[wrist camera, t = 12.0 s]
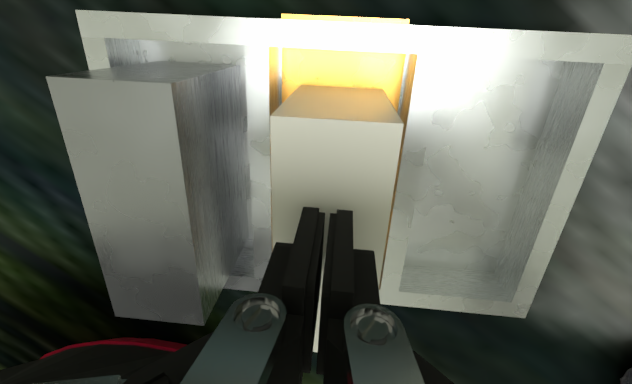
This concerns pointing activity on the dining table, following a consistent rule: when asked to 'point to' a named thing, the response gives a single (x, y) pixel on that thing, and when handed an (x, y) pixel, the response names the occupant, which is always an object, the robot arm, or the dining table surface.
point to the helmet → (91, 361)
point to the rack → (255, 149)
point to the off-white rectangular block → (335, 164)
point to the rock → (627, 377)
